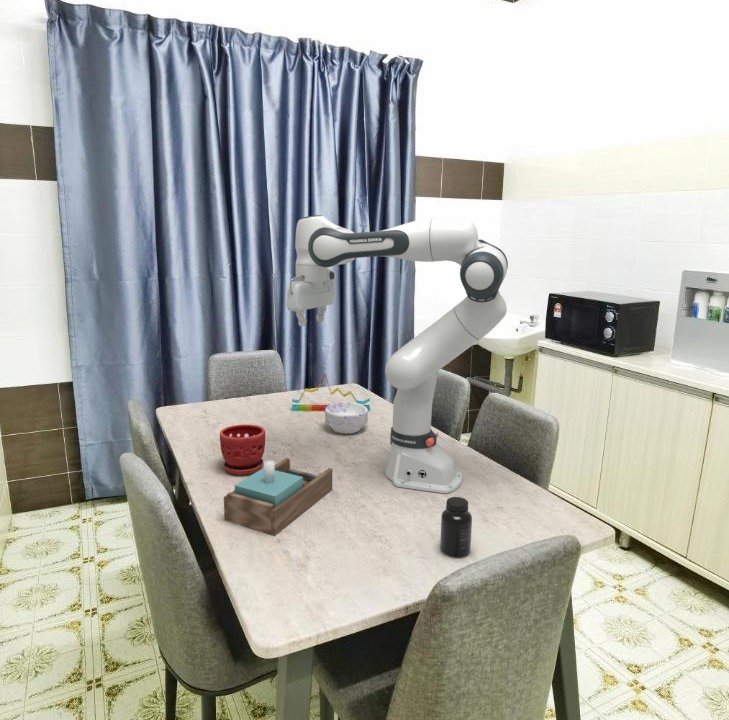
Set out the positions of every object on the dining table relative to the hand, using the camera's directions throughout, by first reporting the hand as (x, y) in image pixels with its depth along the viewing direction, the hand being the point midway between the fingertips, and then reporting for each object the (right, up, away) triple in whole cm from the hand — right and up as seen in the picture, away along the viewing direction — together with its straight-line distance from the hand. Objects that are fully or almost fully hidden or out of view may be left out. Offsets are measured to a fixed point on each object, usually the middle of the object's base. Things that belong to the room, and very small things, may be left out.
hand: (311, 323), depth 162 cm
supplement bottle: (+36, -54, -34) cm, 73 cm away
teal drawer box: (-9, -47, -20) cm, 52 cm away
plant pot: (-21, -43, +6) cm, 48 cm away
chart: (+2, -31, +61) cm, 68 cm away
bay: (-6, -48, -15) cm, 51 cm away
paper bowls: (+9, -36, +39) cm, 54 cm away
